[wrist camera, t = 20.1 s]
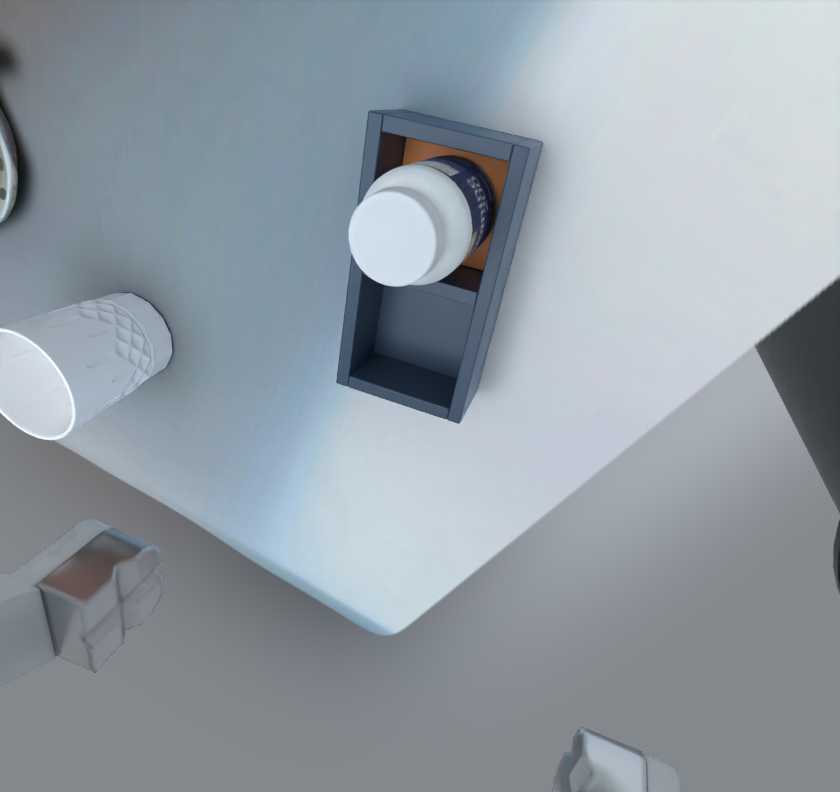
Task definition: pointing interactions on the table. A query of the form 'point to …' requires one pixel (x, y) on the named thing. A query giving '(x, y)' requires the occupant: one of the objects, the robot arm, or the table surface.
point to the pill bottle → (422, 220)
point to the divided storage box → (442, 300)
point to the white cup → (78, 361)
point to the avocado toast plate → (7, 168)
